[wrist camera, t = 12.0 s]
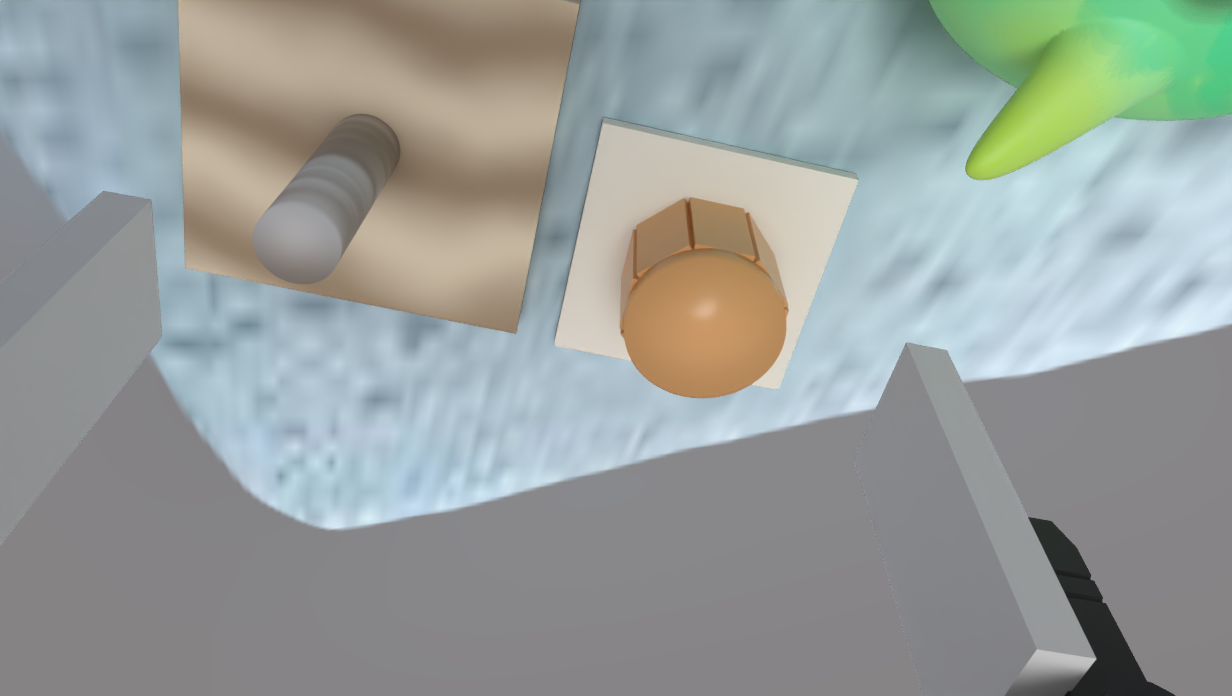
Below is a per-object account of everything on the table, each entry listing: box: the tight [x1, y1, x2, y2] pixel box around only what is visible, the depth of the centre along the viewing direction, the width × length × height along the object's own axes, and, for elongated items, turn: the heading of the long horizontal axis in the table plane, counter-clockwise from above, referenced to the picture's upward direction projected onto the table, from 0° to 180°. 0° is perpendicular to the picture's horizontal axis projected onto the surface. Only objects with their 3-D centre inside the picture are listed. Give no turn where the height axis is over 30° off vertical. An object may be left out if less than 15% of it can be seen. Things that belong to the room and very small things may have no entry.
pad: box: [554, 117, 859, 390], centre depth 46 cm, size 12×12×1 cm
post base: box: [178, 0, 581, 334], centre depth 38 cm, size 16×16×12 cm
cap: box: [620, 197, 789, 398], centre depth 43 cm, size 7×7×6 cm
